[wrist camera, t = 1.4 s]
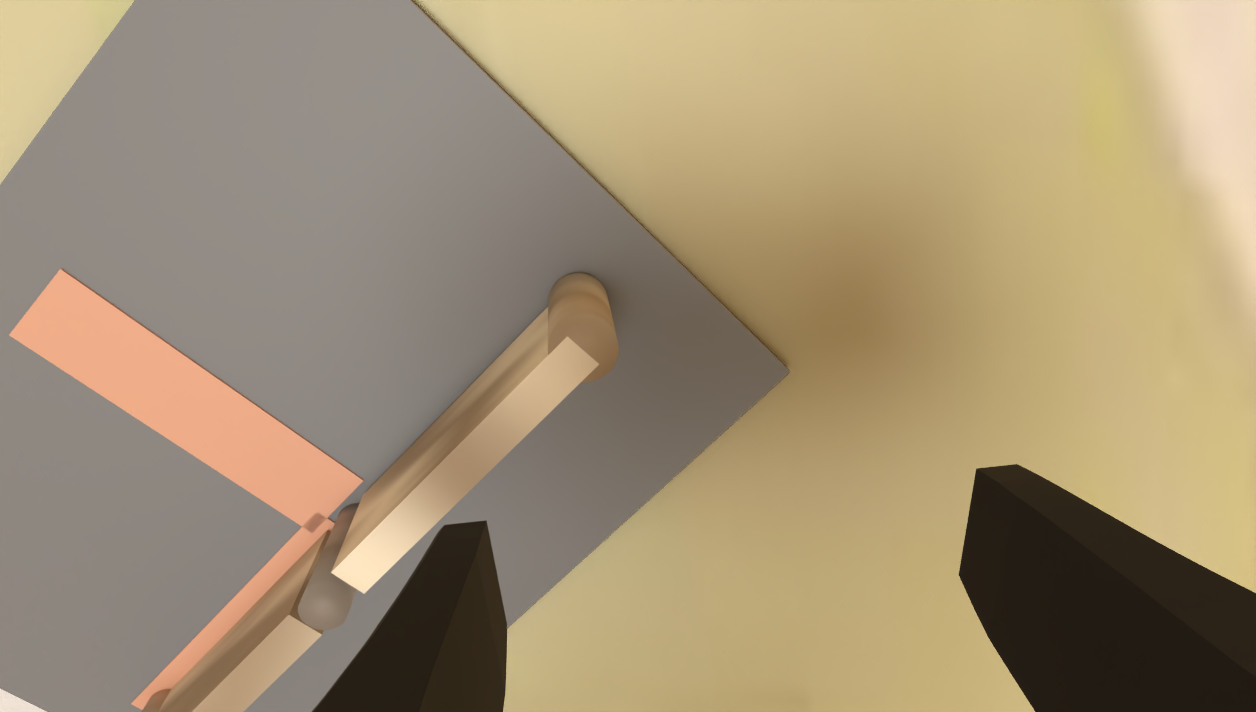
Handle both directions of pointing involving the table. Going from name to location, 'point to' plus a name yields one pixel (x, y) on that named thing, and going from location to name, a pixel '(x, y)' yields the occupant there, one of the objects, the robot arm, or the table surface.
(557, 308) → the bar
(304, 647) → the fixed fence section
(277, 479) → the mat
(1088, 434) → the table surface
